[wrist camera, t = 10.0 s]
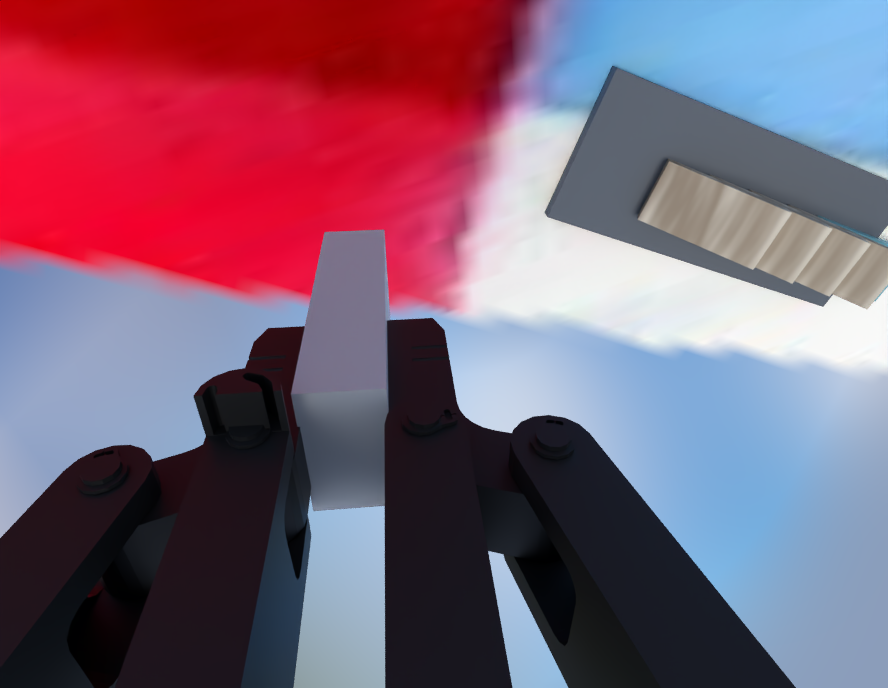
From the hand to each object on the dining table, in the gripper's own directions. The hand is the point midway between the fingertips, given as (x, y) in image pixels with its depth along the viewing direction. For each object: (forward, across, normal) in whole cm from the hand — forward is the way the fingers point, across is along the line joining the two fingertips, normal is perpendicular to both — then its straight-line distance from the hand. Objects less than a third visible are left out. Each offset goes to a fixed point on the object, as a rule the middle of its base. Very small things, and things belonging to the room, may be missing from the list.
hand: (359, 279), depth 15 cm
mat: (+32, +30, -10) cm, 45 cm away
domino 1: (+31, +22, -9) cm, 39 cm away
